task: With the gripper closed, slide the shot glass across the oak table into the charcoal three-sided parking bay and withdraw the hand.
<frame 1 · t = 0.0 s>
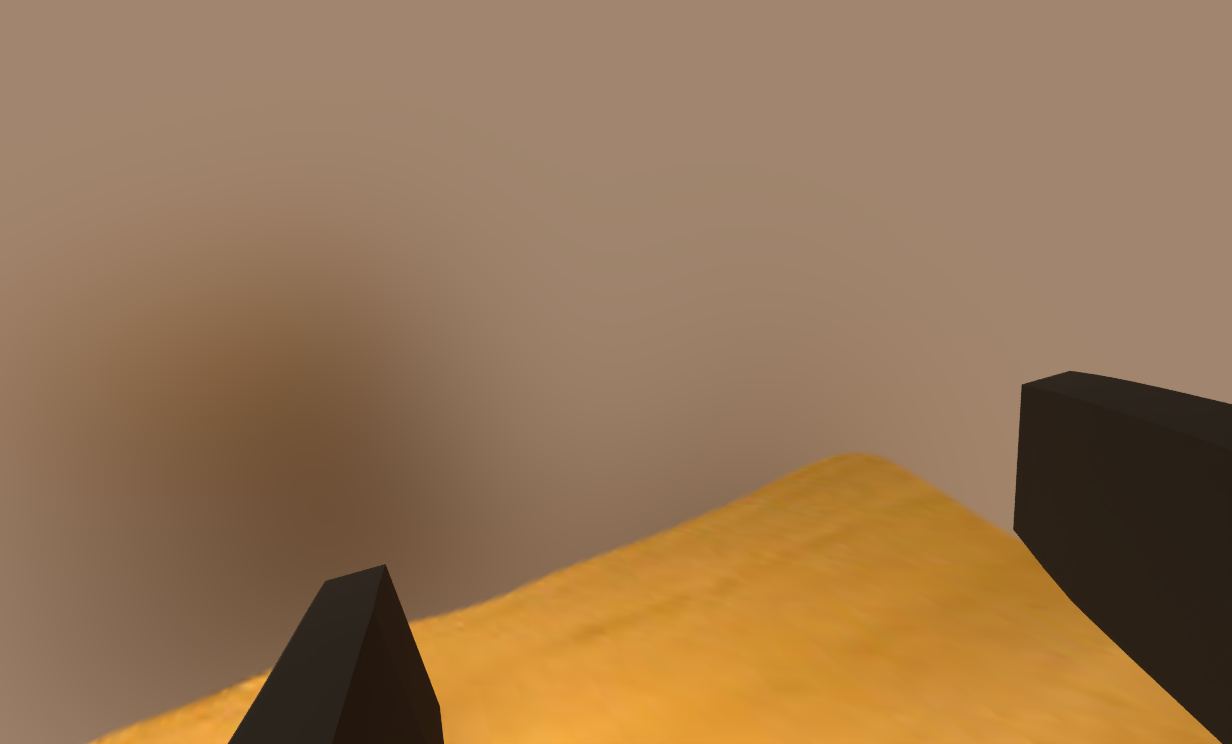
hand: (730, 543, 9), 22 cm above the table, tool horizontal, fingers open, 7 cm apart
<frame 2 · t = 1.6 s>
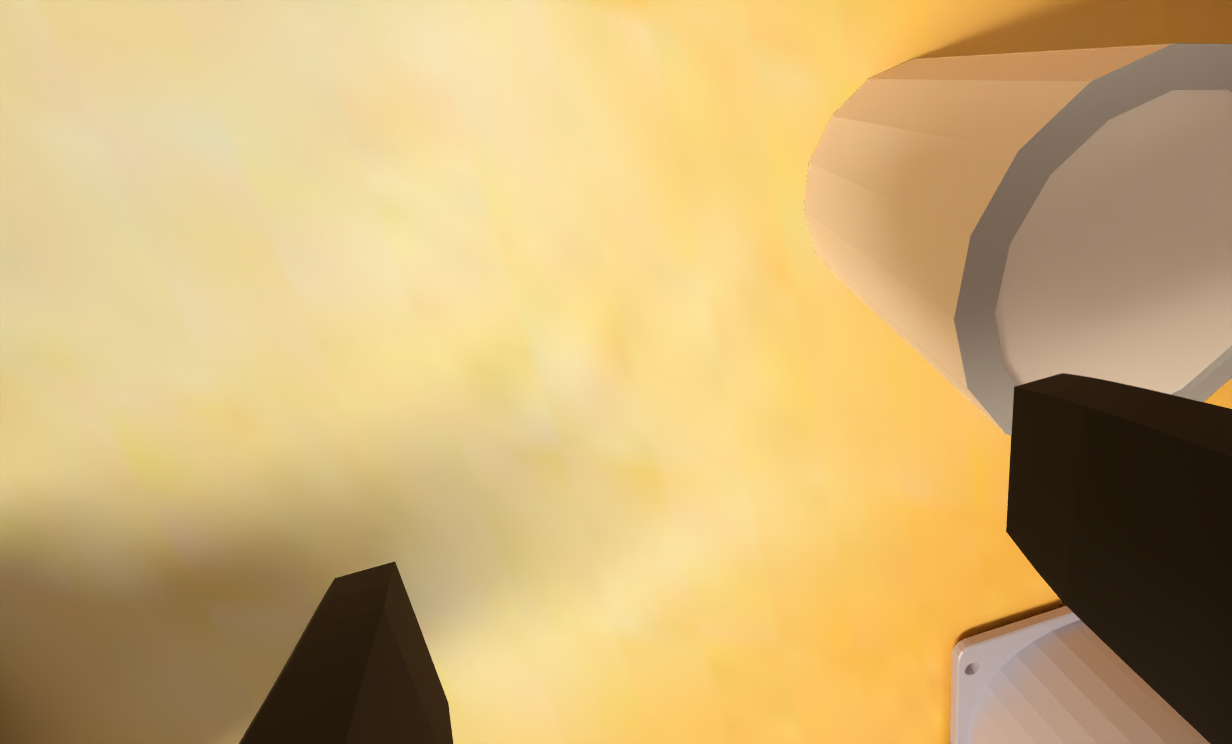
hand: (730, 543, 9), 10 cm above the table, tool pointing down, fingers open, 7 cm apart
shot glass: (909, 181, 19), on the table
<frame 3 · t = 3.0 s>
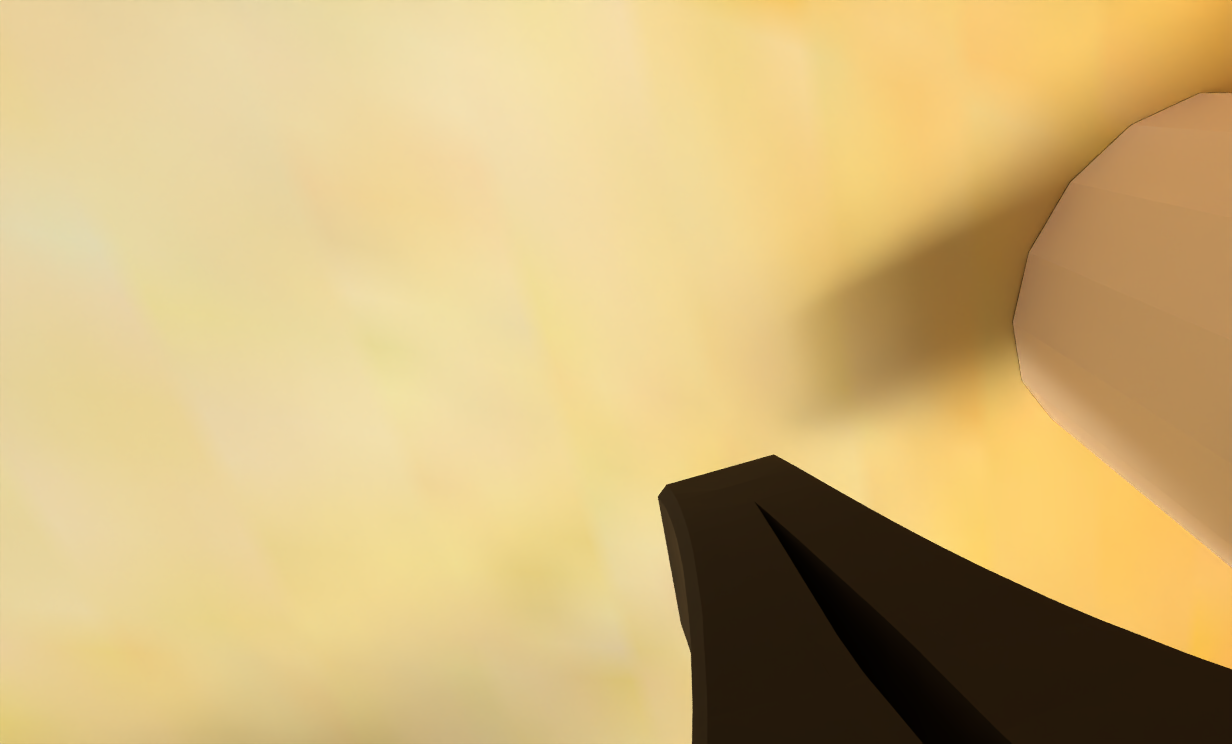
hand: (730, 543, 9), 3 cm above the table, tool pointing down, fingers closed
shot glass: (1163, 274, 13), on the table
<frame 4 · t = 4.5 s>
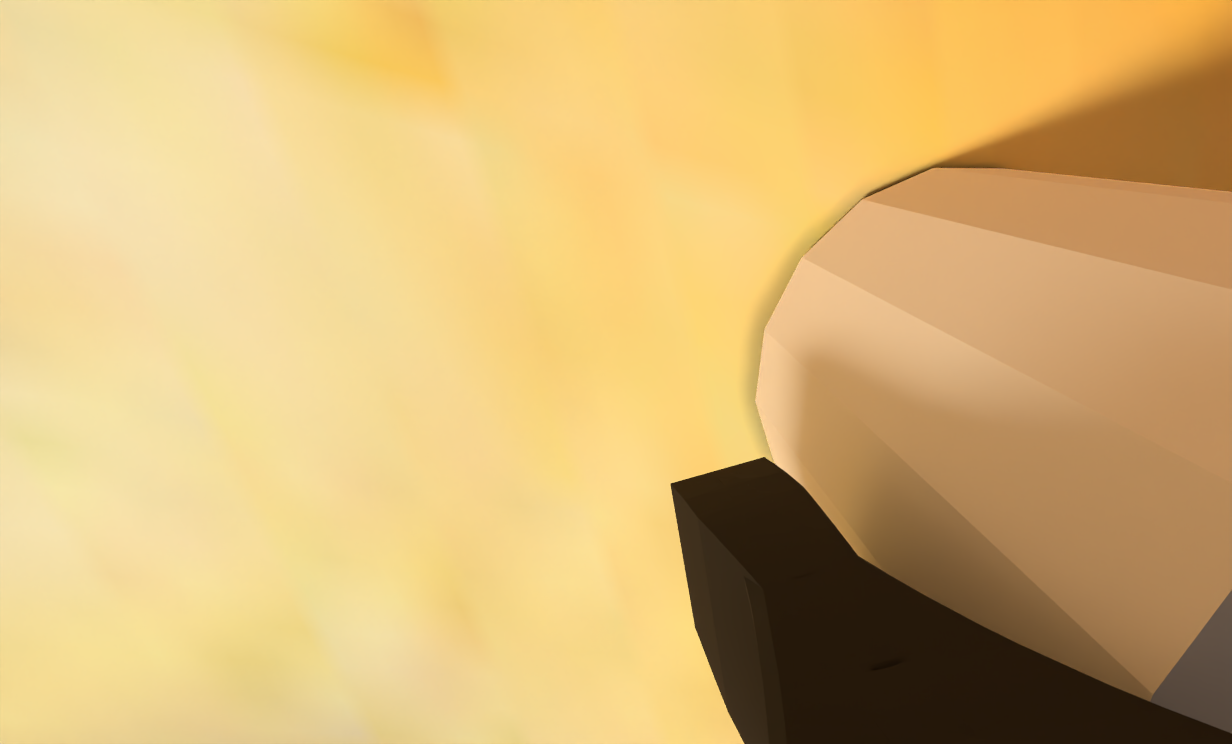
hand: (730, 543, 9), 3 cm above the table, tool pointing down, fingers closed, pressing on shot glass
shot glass: (920, 350, 12), on the table, touching gripper
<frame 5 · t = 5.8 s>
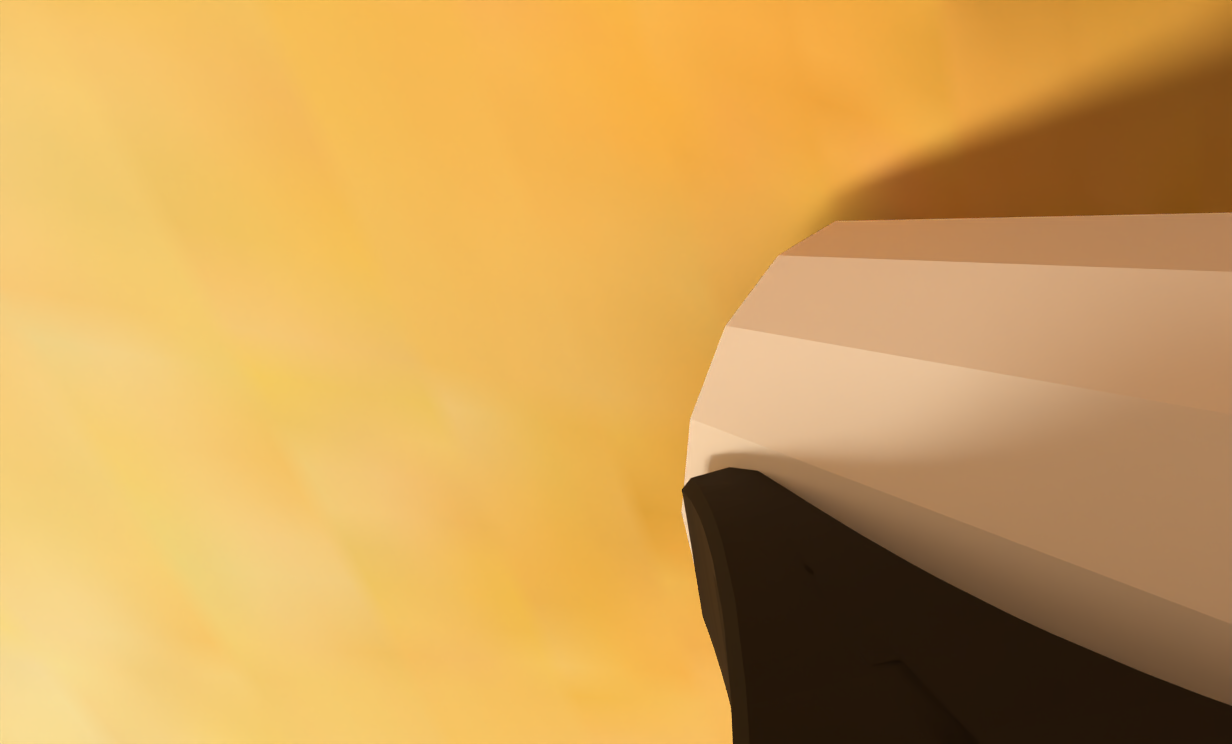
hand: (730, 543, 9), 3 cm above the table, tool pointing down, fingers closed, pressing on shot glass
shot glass: (820, 428, 11), point 1 cm above the table, touching gripper
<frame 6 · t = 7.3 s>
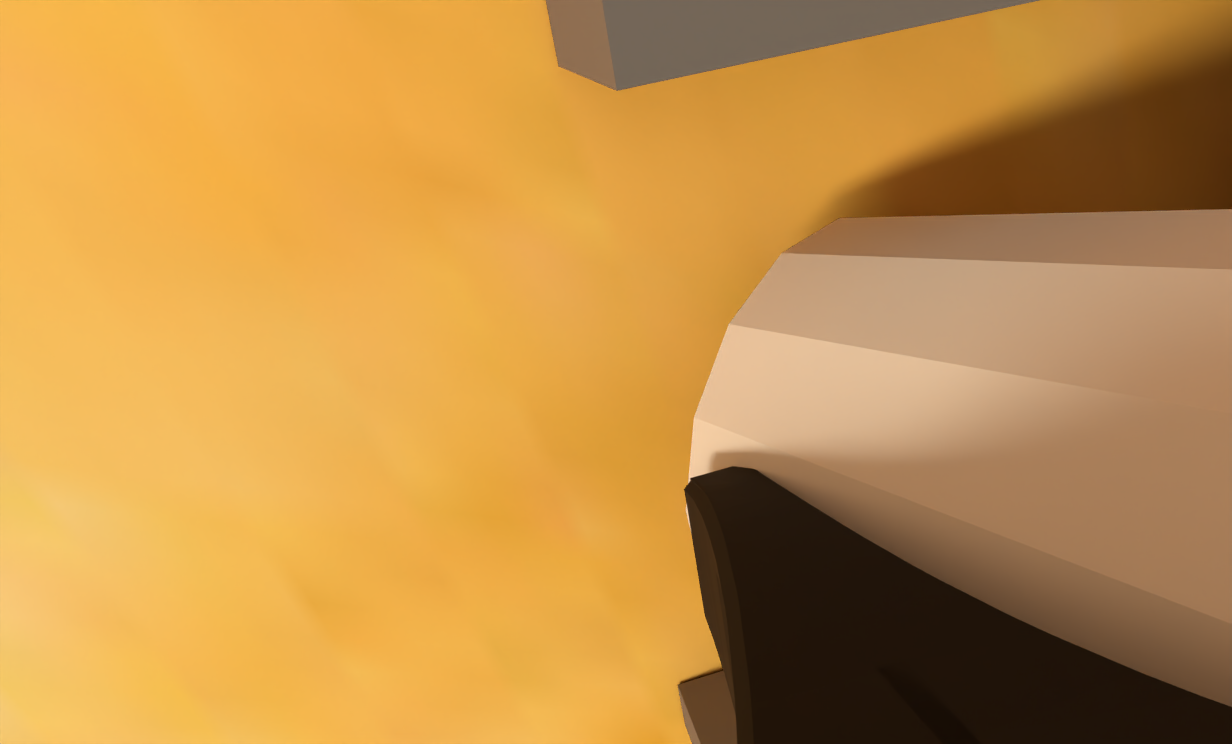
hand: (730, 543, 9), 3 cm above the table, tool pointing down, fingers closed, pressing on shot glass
parking bay: (948, 348, 12), on the table
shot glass: (825, 426, 11), point 1 cm above the table, touching gripper
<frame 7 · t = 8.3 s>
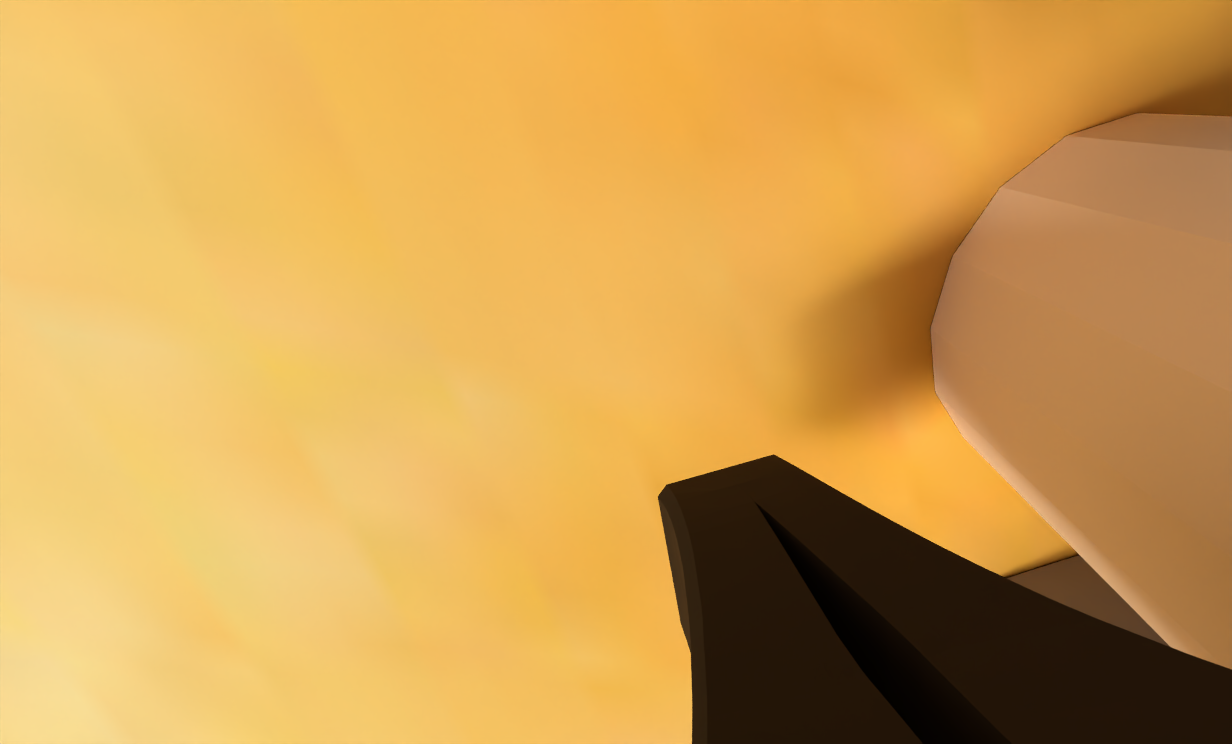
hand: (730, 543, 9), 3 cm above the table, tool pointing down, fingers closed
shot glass: (1087, 299, 13), on the table
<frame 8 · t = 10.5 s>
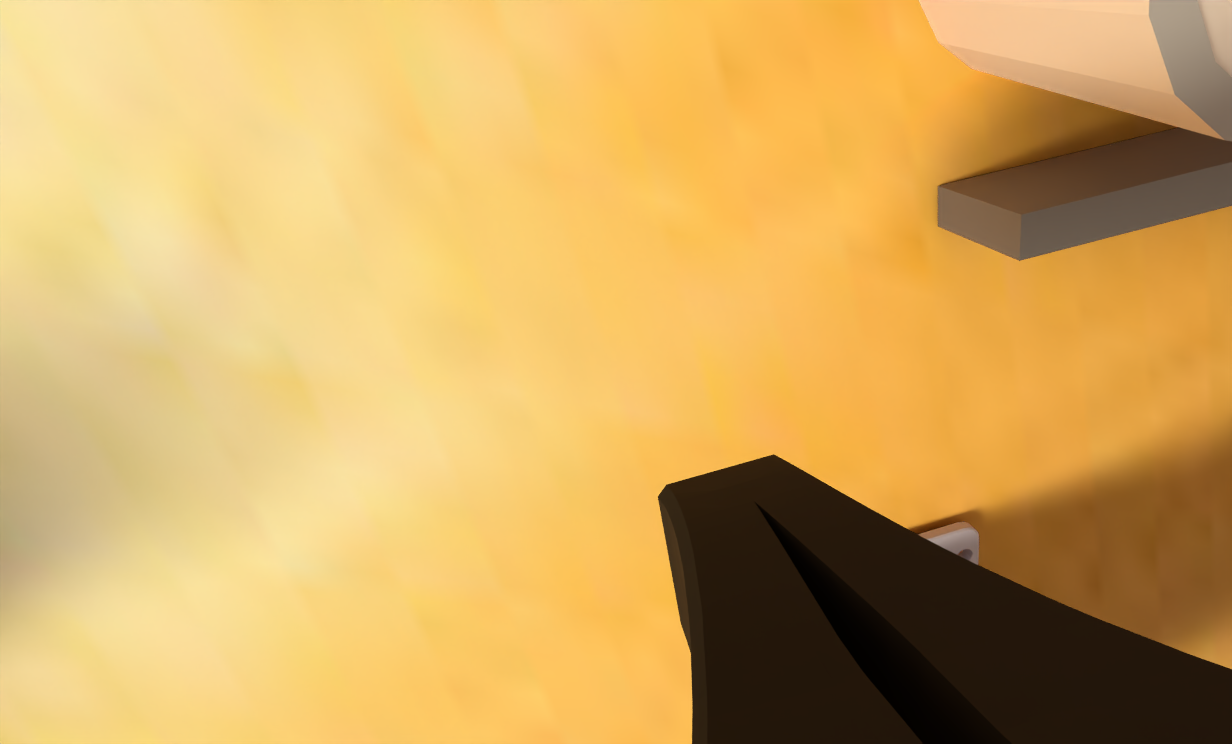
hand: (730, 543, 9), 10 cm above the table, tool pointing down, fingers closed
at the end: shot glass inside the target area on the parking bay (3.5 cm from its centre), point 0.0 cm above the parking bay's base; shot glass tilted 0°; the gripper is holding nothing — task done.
